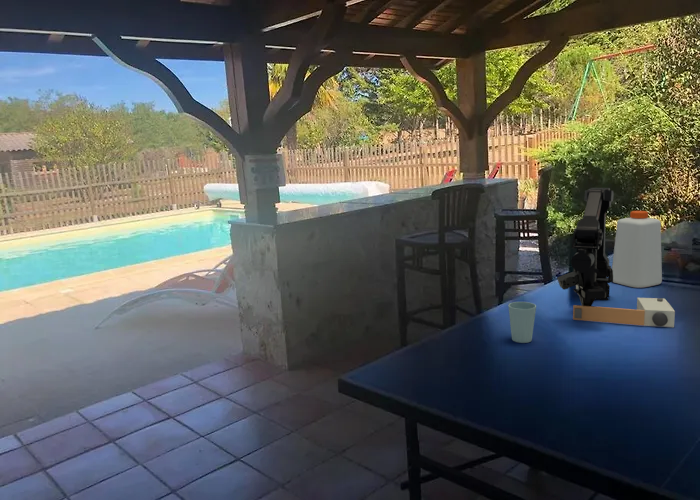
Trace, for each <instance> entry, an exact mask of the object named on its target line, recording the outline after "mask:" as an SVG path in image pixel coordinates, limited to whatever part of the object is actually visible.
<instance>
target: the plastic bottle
mask: <svg viewBox="0 0 700 500" xmlns="http://www.w3.org/2000/svg"><path fill="white" fill-rule="evenodd" d="M629 214H630V215H629V217H625V218H620V219H618V220H617V221H616V222H617V223H616V230H615V237H614V238H615V239H614V249H613V256H612V265H611V268H612V270H613V282H612V283H615V284H617V285H622V286H626V287H630V288H634V289H635V288H637V289H643V288H645V289H646V288H648V287H653V286H658V285H660V284H661V283H662V282H663V275H662V274H663V272H662V269H663V268H662V267H663V265H662V263H663V262H662V229H661V227H662V225H661V224H662V222H661V221H660V219H658V218H652V217H649V212H648V211H647V210H632V211H630V213H629Z"/></svg>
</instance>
